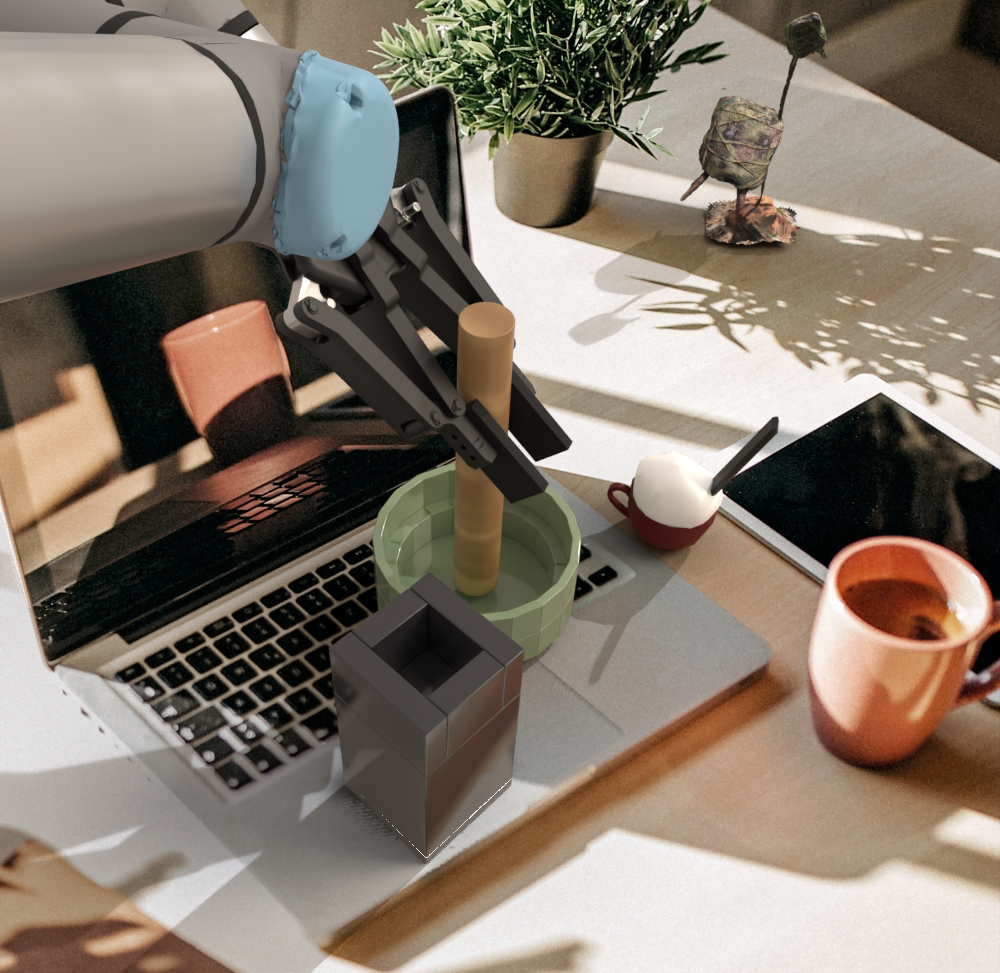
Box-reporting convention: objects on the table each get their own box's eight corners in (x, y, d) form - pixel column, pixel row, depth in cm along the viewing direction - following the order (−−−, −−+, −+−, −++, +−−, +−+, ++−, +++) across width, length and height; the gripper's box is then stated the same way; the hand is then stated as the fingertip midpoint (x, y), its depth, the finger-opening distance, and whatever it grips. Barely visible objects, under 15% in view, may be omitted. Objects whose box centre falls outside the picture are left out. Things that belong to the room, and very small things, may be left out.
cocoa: (592, 528, 82) (611, 405, 73) (637, 478, 86) (661, 355, 77) (709, 592, 78) (744, 472, 70) (751, 537, 82) (789, 415, 73)
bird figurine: (691, 189, 112) (729, -15, 98) (805, 217, 110) (862, 12, 95) (669, 233, 107) (706, 24, 93) (788, 263, 105) (845, 54, 90)
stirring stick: (475, 604, 75) (487, 345, 59) (443, 578, 76) (446, 318, 60) (507, 578, 76) (527, 320, 60) (475, 553, 78) (486, 294, 62)
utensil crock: (426, 865, 64) (424, 735, 54) (344, 784, 68) (328, 647, 57) (511, 784, 68) (525, 649, 58) (430, 712, 71) (429, 571, 61)
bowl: (475, 714, 71) (478, 659, 67) (336, 593, 77) (330, 535, 73) (612, 595, 78) (622, 538, 74) (474, 492, 84) (476, 433, 79)
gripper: (303, 108, 66) (548, 406, 74) (134, 257, 56) (440, 583, 64) (382, 40, 61) (636, 369, 69) (211, 191, 51) (533, 555, 59)
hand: (541, 471), depth 67 cm, fingers closed on stirring stick, 3 cm apart
